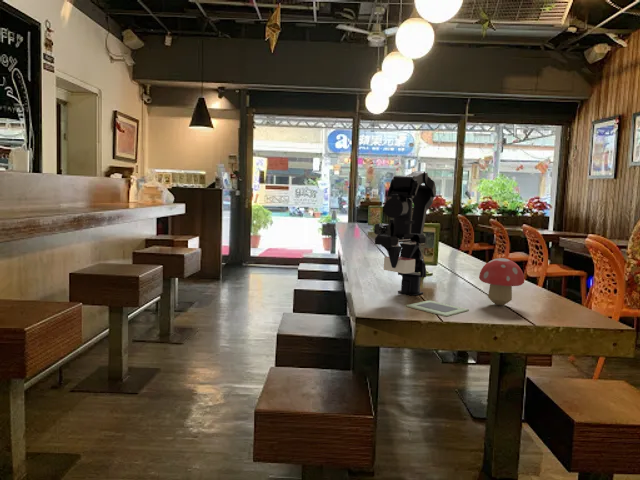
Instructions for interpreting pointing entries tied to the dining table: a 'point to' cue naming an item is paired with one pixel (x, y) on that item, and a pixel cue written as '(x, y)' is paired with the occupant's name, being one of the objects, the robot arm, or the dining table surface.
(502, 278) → the decorative mushroom
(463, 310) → the mat
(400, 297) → the dining table surface
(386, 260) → the card box
